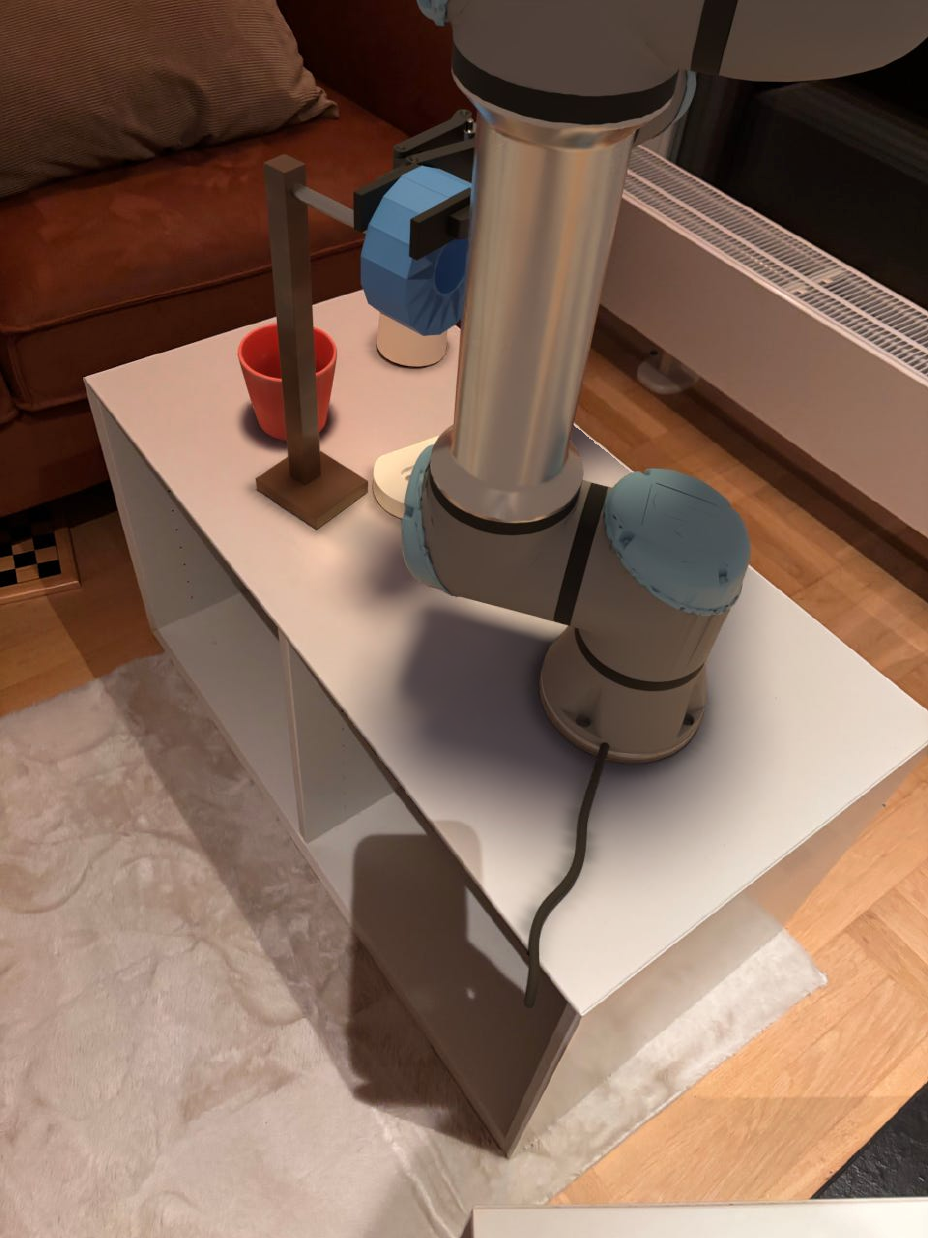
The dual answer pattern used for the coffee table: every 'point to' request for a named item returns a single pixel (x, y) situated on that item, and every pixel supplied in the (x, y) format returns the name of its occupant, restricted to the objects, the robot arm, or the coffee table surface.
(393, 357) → the beige cylinder
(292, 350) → the peg stand
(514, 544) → the robot arm
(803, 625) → the coffee table surface
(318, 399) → the flower pot
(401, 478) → the bracket
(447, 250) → the tape roll
